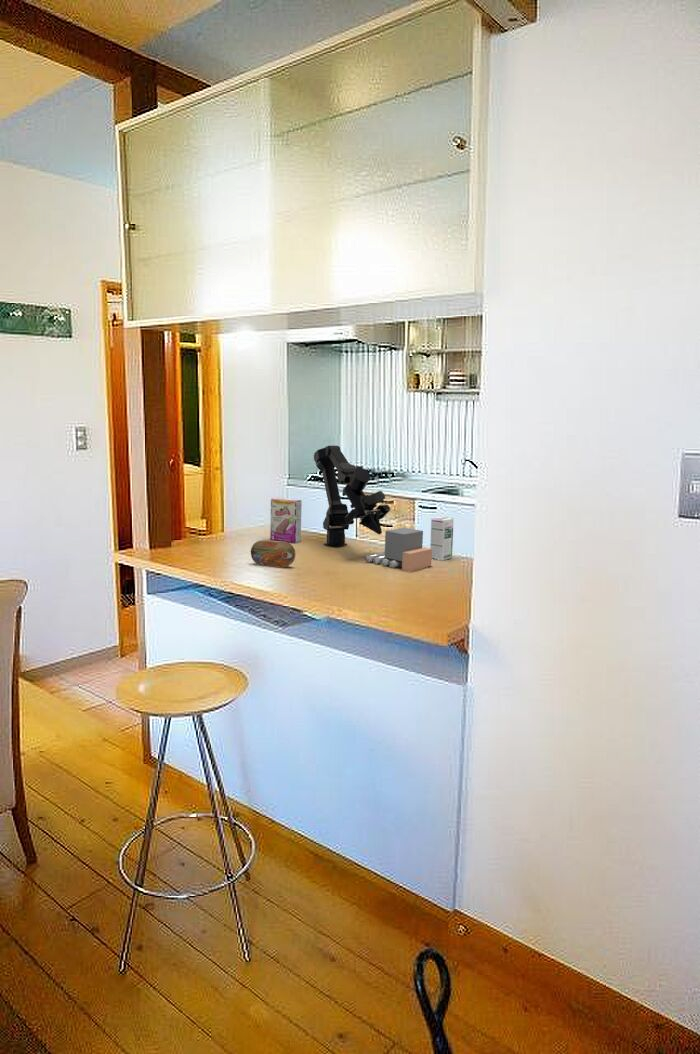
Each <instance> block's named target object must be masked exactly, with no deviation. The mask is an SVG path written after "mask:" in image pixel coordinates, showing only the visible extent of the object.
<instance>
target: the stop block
mask: <svg viewBox="0 0 700 1054" xmlns="http://www.w3.org/2000/svg"><path fill="white" fill-rule="evenodd" d="M432 560H433V558H432V549H431V548H430V547H422V548H420V549H415V550H410V551H406V552H403V557H402V566H401V570H402V571H405V572H408V573H411V572H414V570H415V571H417V570H418V569H419V570H422V569H426V568H429V567H428V566H430V567H432ZM425 567H426V568H425ZM421 568H422V569H421Z"/></svg>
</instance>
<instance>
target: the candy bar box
mask: <svg viewBox="0 0 700 1054" xmlns="http://www.w3.org/2000/svg"><path fill="white" fill-rule="evenodd" d="M302 505H303V504H302V499H295V498H288V497H287V498H284V497H274V498H273V497H272V498H271V499H270V533H269V534H270V535H269V536H270V537H269V538H270V539H269V541H282V542H288V543H289V542H291V543H290V544H297V543H299V541H300V542H301V541H302ZM296 542H297V543H296Z"/></svg>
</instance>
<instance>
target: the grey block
mask: <svg viewBox="0 0 700 1054" xmlns="http://www.w3.org/2000/svg"><path fill="white" fill-rule="evenodd" d="M384 532H385V533H384V534H385V536H384V537H385V538H384V552H385V558H389V559H394V560H399V561H402V557H403V552H406V551H410V550H415V549H420V548H423V544H424V543H423V539H424V537H423V536H424V530H422V529H421V530H419V529H416V528H415V529H414V528H408V527H400V528H395V529H390V530H385V531H384Z"/></svg>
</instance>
